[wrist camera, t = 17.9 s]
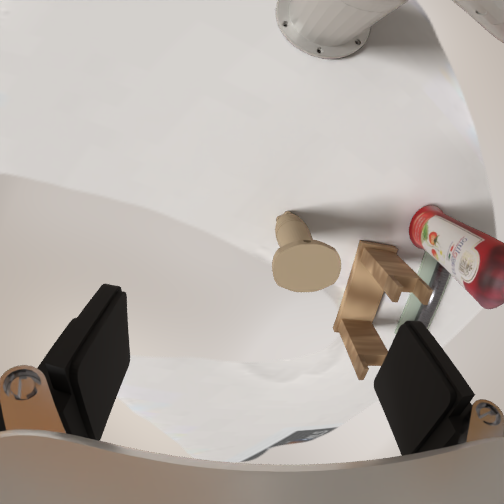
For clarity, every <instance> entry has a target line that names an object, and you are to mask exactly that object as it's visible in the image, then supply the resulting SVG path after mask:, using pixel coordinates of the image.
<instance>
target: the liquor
mask: <svg viewBox="0 0 504 504" xmlns="http://www.w3.org/2000/svg"><path fill="white" fill-rule="evenodd" d="M409 235H410V239H411V241H412V243H413V244H414V245H415V246H416V247H418V248H420V249H424V250H425V251H427V252H428V253H429V254H430V255H431V256H432V257H433V258H435V259H436V260H437V261H438V262H439V263H440V264H441V265H442V266H443V267H444V268H445V269H446V270H447V271H448V272H449V273H450V274H451V275H452V276H453V277H454V278H455V279H456V280H457V281H458V282H459V283H460V284H461V285H462V286H463V287H464V288H465V289H466V290H467V291H468V292H469V293H470V294H471V295H472V296H473V297H474V298H475V299H476V301H477V302H478V303H479V304H480V305H481V306H482V307H484V308H486V309H493V308H496V307H498V306H500V305H502V304H503V303H504V243H503V242H501V241H499V240H497V239H495V238H493V237H491V236H490V235H487V234H485V233H483V232H481V231H479V230H477V229H474V228H472V227H470V226H468V225H466V224H464V223H462V222H460V221H457V220H455V219H453V218H451V217H449V216H447V215H445V214H443V212H442V211H441V209H439V208H438V207H436V206H432V205H429V206H425V207H423V208H421V209H419V210H418V211H417V212H416V213H415V215H414V216H413V218H412V220H411V223H410V227H409Z"/></svg>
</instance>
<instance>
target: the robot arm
mask: <svg viewBox="0 0 504 504" xmlns="http://www.w3.org/2000/svg"><path fill="white" fill-rule="evenodd" d="M407 1H408V0H278V2H277V7H276V19H277V23H278V26H279V28H280V30H281V32H282V33H283V35H284V36H285V37H286V39H287V40H288V41H289V42H290V43H291V44H293V45H294V46H295V47H296V48H298V49H299V50H301V51H303V52H305V53H307V54H309V55H312V56H315V57H319V58H326V59H335V58H341V57H346V56H348V55H350V54H352V53H354V52H355V51H357V50H358V49H360V48H361V47H362V46H363V45H364V43H365V42H366V40H367V39H368V36H369V33H370V26H372V25H373V24H375V23H376V22H377V21H379V20H380V19H382V18H383V17H385V16H386V15H388V14H389V13H391V12H392V11H394V10H395V9H397V8H398V7H400V6H401V5H403V4H404V3H405V2H407ZM452 1H453V2H455V3H456V4H457V5H458V6H459V7H461V8H462V9H463V10H464V11H466V12H467V13H468V14H469V15H470V16H471V17H473V18H474V19H475V20H476V21H477V22H478V23H479V24H480V25H481V26H483V27H484V28H485V29H486V30H487V31H488V32H489V33H491V34H492V35H493V36H494V37H496V38H497V39H498V40H500V41H501V42H503V43H504V0H452ZM283 25H287V27H284V26H283ZM355 42H357V44H356V43H355ZM317 50H319V51H320V53H318V52H317ZM129 362H130V349H129V335H128V321H127V296H126V293H125V292H122V291H121V287H119V286H114V285H109V284H103V285H102V286H101V287H100V288H99V290H98V291H97V292H96V293H95V295H94V296H93V297H92V299H91V300H90V301H89V303H88V304H87V305H86V306H85V308H84V309H83V311H82V312H81V313H80V315H79V316H78V317H77V318H74V319H73V320H72V321H71V322H70V323H69V324H68V326H67V327H66V328H65V330H64V331H63V333H62V334H61V335H60V337H59V338H58V339H57V341H56V342H55V344H54V345H53V346H52V348H51V349H50V351H49V352H48V354H47V355H46V357H45V358H44V359H43V361H42V362H41V364H40V365H39V367H38V368H35V367H33V366H28V365H20V366H16V367H13V368H11V369H9V370H7V371H6V372H5V373H4V374H3V375H2V376H1V378H0V504H504V415H503V413H502V411H501V410H500V409H499V407H498V406H496V405H495V404H494V403H492V402H490V401H488V400H483V399H480V400H477V401H475V402H474V404H473V405H471V403H470V401H471V400H472V398H473V397H474V395H475V394H474V393H473V391H472V390H471V388H470V387H469V385H468V384H467V382H466V381H465V380H464V378H463V377H462V375H461V374H460V372H459V371H458V370H457V368H456V367H455V366H454V364H453V363H452V361H451V360H450V358H449V357H448V356H447V354H446V353H445V352H444V350H443V349H442V348H441V346H440V345H439V344H438V342H437V341H436V340H435V338H434V337H433V336H432V334H431V333H430V332H429V330H428V329H427V328H426V326H425V325H424V324H423V323H422V322H421V321H406V322H405V323H404V324H402V325H401V326H400V327H399V329H398V331H397V334H396V336H395V338H394V340H393V343H392V345H391V347H390V349H389V351H388V353H387V355H386V358H385V360H384V362H383V364H382V366H381V368H380V370H379V372H378V374H377V376H376V378H375V380H374V389H375V391H376V394H377V396H378V398H379V401H380V403H381V405H382V408H383V410H384V412H385V415H386V417H387V420H388V422H389V425H390V427H391V429H392V432H393V435H394V437H395V440H396V442H397V445H398V447H399V449H400V452H401V455H402V456H397V457H391V458H383V459H376V460H367V461H357V462H346V463H332V464H310V465H267V464H265V465H264V464H243V463H230V462H218V461H209V460H200V459H192V458H185V457H178V456H172V455H166V454H160V453H154V452H148V451H143V450H138V449H133V448H128V447H124V446H119V445H115V444H111V443H107V442H102V441H100V439H101V436H102V434H103V431H104V428H105V426H106V423H107V420H108V417H109V415H110V412H111V409H112V407H113V404H114V402H115V399H116V396H117V394H118V391H119V389H120V386H121V384H122V381H123V379H124V376H125V374H126V371H127V369H128V366H129Z"/></svg>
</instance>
